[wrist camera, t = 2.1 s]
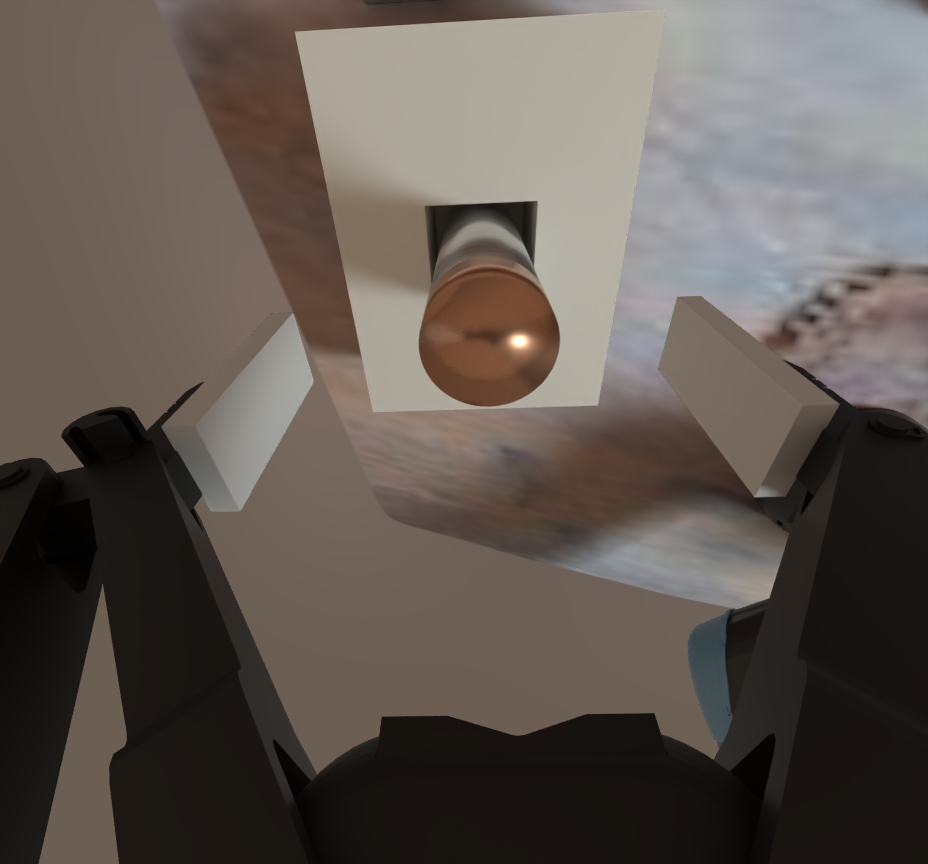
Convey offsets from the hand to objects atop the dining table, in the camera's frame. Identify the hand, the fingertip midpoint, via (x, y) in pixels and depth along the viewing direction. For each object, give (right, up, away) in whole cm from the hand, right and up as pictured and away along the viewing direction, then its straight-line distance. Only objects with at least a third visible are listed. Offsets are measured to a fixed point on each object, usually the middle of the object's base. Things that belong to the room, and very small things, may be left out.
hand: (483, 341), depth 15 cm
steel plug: (0, +11, +15) cm, 18 cm away
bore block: (0, +11, +16) cm, 19 cm away
